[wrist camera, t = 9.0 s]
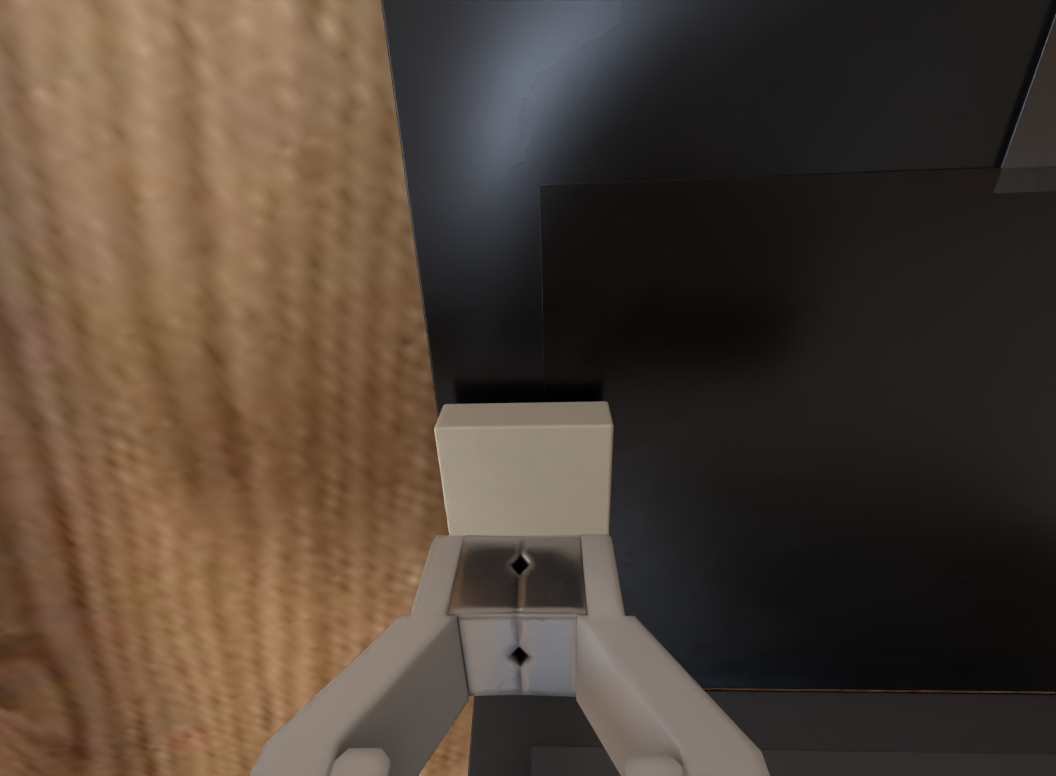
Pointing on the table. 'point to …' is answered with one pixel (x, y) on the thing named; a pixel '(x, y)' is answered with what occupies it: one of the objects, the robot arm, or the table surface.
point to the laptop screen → (796, 734)
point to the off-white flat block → (526, 468)
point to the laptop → (767, 308)
